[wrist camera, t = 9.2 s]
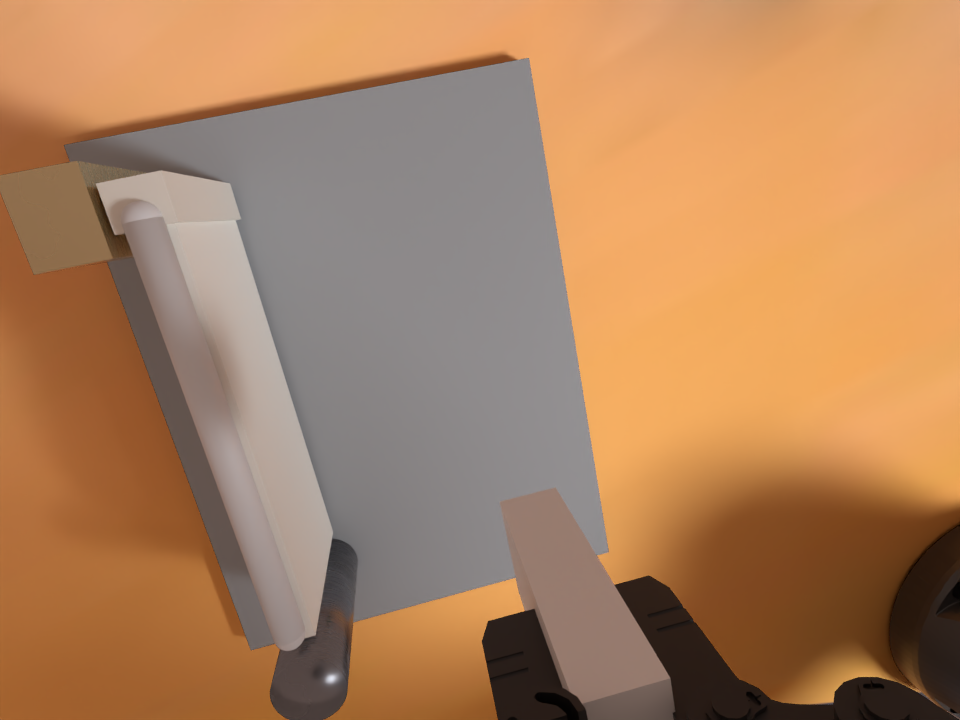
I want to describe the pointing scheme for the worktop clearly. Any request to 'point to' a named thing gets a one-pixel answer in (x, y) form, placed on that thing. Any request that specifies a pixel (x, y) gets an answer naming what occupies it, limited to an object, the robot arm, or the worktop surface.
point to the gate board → (393, 321)
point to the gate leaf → (231, 384)
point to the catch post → (64, 215)
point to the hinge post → (321, 648)
